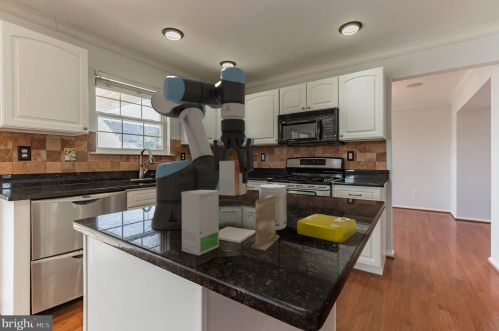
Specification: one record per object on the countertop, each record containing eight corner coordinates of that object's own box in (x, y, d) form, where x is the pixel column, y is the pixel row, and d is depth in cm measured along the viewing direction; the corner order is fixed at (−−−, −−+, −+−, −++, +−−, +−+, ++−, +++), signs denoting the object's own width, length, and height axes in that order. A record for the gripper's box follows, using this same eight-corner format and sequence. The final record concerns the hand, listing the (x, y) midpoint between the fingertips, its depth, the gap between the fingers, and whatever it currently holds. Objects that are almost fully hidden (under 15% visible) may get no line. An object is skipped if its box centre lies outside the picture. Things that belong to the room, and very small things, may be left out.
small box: (234, 196, 71) (234, 160, 71) (219, 195, 74) (218, 160, 73) (247, 192, 78) (247, 160, 78) (233, 191, 81) (232, 160, 81)
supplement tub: (273, 222, 92) (273, 183, 92) (292, 227, 85) (292, 185, 84) (253, 226, 86) (253, 185, 85) (272, 232, 79) (272, 187, 78)
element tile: (315, 224, 90) (315, 212, 90) (357, 232, 80) (357, 218, 80) (294, 234, 78) (295, 219, 78) (341, 244, 69) (341, 228, 69)
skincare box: (198, 256, 59) (198, 193, 59) (179, 251, 63) (179, 191, 62) (220, 246, 66) (219, 190, 66) (202, 242, 70) (202, 188, 69)
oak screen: (251, 247, 65) (251, 200, 65) (266, 236, 75) (266, 194, 75) (265, 250, 63) (265, 201, 63) (279, 238, 73) (279, 195, 73)
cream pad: (208, 237, 74) (208, 235, 74) (227, 228, 84) (227, 226, 84) (240, 243, 69) (240, 241, 69) (256, 232, 79) (256, 230, 79)
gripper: (201, 120, 76) (202, 193, 77) (255, 115, 68) (255, 197, 68) (215, 123, 83) (215, 190, 83) (265, 119, 74) (265, 193, 75)
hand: (233, 193), depth 76 cm, fingers closed on small box, 6 cm apart
